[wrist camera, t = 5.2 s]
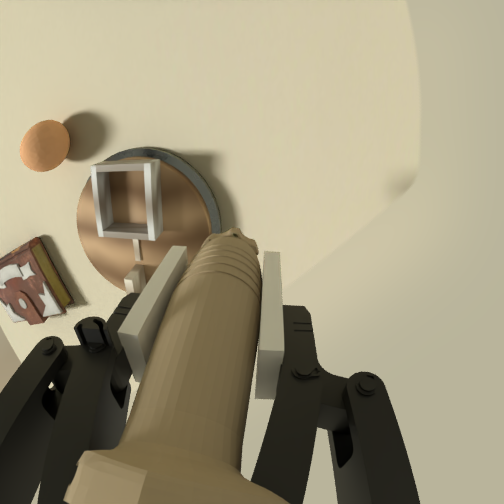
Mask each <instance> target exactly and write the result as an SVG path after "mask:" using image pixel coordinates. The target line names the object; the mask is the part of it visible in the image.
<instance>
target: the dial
mask: <svg viewBox="0 0 504 504" xmlns="http://www.w3.org/2000/svg"><path fill="white" fill-rule="evenodd" d="M90 167H91V178H90V179H89V181H88V182H87V183H86V185H85V187H84V189H83V191H82V193H81V196H80V199H79V203H78V208H77V228H78V234H79V238H80V241H81V244H82V247H83V249H84V251H85V253H86V255H87V257H88V258H89V260H90V262H91V263H92V264H93V266H94V267H95V268H96V270H97V271H98V272H99V273H100V274H101V275H102V276H103V277H104V278H105V279H107V280H108V281H109V282H110V283H112V284H113V285H115V286H116V287H118V288H120V289H122V290H124V291H126V292H127V295H128V294H130V293H131V292H133V293H142V291H143V289H144V288H145V286H146V285H147V283H148V282H149V280H150V279H151V277H152V276H153V274H154V272H155V271H156V269H157V268H158V266H159V265H160V263H161V262H162V260H163V259H164V257H165V256H166V255H167V253H168V252H169V250H170V249H171V247H172V246H187V258H188V265H189V263H190V262H191V260H192V259H193V257H194V256H195V255H196V253H197V252H198V251H199V250H200V249H201V246H202V244H203V243H204V241H205V240H206V239H207V238H208V237H209V236H210V235H211V234H212V225H211V219H210V214H209V211H208V208H207V206H206V203H205V201H204V199H203V197H202V195H201V194H200V192H199V191H198V189H197V187H196V186H195V185H194V184H193V183H192V181H191V180H190V179H189V178H188V177H187V176H186V175H184V174H183V173H182V172H181V171H180V170H178V169H177V168H175V167H174V166H172V165H170V164H168V163H166V162H164V161H161V160H160V159H156V158H151V157H142V156H135V157H128V158H124V159H120V160H117V161H103V162H100V163H97V164H94V165H92V166H90Z"/></svg>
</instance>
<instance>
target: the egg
mask: <svg viewBox="0 0 504 504" xmlns="http://www.w3.org/2000/svg"><path fill="white" fill-rule="evenodd" d="M69 146H70V138H69V133H68V131H67V129H66V128H65V127H64V126H63V124H61V123H60V122H57V121H54V120H46V121H42V122H39V123H37V124H35V125H34V126H33V127H31V129H30V130H29V131H28V132H27V133H26V134H25V136H24V137H23V139H22V142H21V146H20V156H21V159H22V161H23V163H24V164H25V165H26V166H27V167H28V168H30V169H32V170H34V171H37V172H45V171H49V170H52V169H54V168H56V167H57V166H58V165H60V164H61V163H62V162H63V160H64V159H65V157H66V156H67V153H68V150H69Z"/></svg>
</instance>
